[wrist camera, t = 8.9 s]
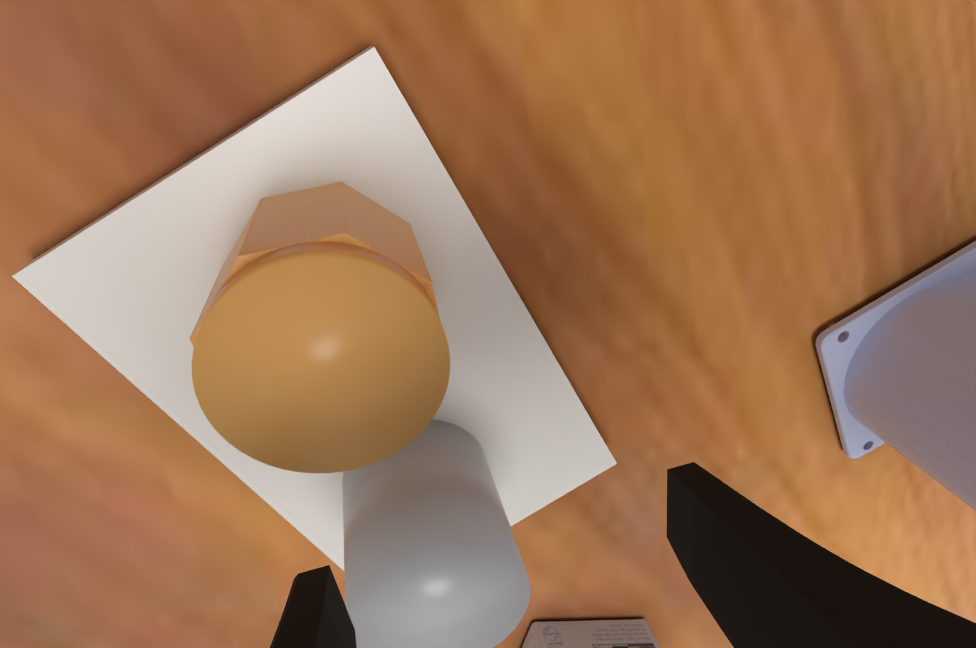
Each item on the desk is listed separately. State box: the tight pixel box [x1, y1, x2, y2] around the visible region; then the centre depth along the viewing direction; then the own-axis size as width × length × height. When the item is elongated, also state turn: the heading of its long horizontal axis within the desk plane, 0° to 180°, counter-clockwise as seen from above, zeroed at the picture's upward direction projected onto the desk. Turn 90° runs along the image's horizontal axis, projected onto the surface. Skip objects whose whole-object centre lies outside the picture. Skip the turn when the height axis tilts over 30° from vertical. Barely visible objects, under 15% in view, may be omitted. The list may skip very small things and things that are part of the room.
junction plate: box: [12, 45, 617, 648], centre depth 17 cm, size 11×17×7 cm, turn 28°
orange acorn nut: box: [190, 181, 450, 473], centre depth 15 cm, size 5×5×6 cm
